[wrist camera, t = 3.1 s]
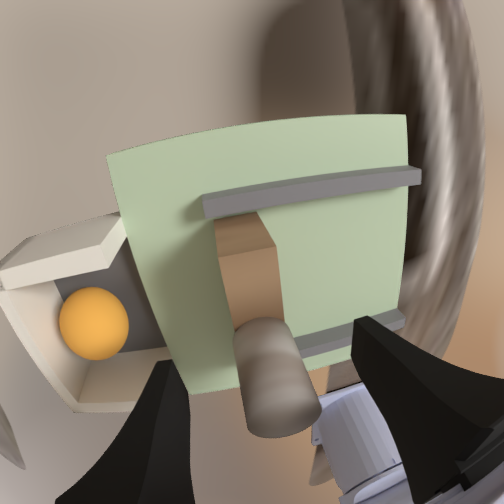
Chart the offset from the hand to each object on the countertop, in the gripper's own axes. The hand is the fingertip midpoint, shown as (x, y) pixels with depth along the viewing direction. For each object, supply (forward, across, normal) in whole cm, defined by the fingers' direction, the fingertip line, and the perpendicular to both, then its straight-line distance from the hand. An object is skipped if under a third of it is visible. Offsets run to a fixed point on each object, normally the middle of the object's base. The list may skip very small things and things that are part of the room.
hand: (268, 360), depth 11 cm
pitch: (+7, +1, 0) cm, 7 cm away
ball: (+4, +9, 0) cm, 10 cm away
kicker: (+6, 0, 0) cm, 6 cm away
